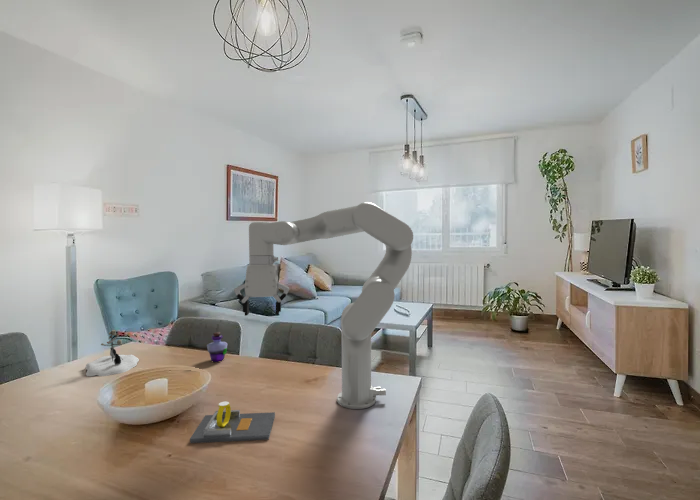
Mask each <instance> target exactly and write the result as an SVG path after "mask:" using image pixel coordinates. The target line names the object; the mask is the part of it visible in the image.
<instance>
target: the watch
mask: <svg viewBox="0 0 700 500" xmlns="http://www.w3.org/2000/svg"><path fill="white" fill-rule="evenodd" d="M231 408H232V407H231V404H230V402H229V401H221V402H219V403H218V410H217V411H218V413H217V425H218V427H224V426H225V425H226V424H227V423H228V422H229V419H230V414H231V410H232V409H231ZM223 411H226V414H225V419H224V422H223V423H222V415H223Z"/></svg>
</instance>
